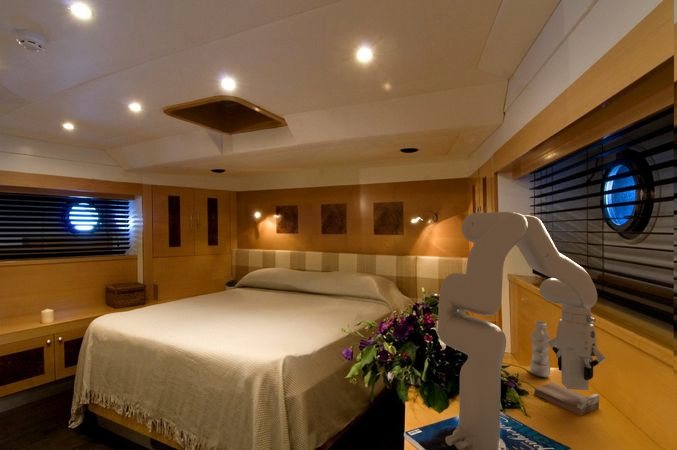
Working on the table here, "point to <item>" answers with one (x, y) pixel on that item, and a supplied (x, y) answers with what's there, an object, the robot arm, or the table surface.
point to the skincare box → (573, 371)
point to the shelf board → (568, 398)
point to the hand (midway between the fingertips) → (574, 373)
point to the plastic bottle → (540, 350)
